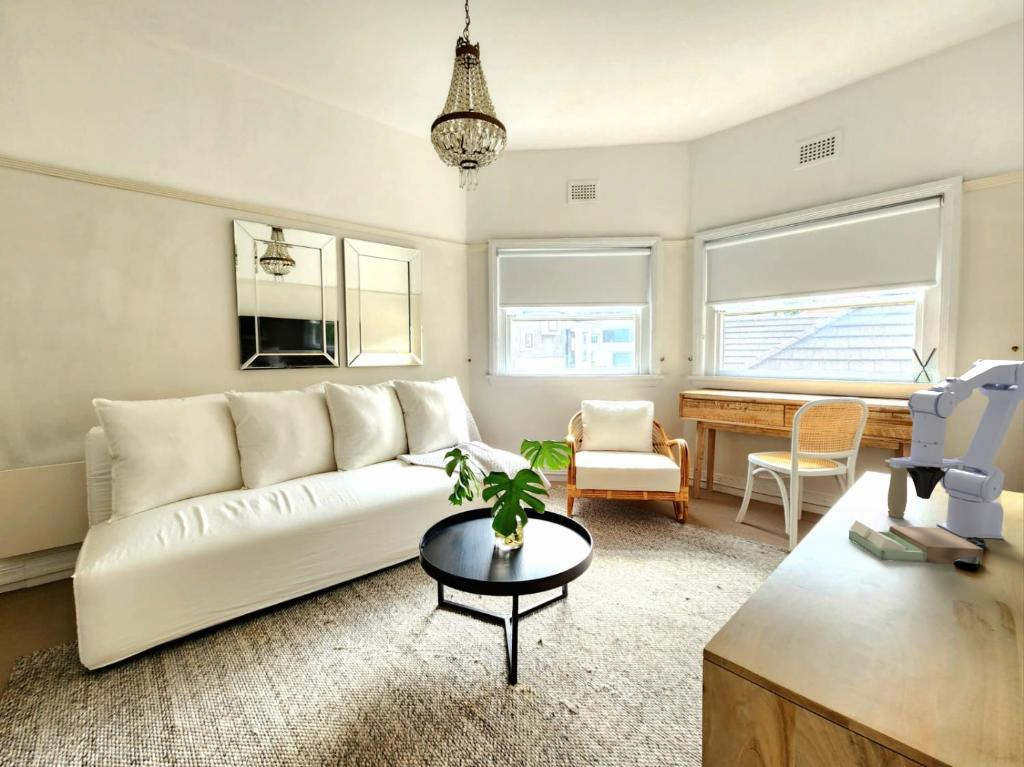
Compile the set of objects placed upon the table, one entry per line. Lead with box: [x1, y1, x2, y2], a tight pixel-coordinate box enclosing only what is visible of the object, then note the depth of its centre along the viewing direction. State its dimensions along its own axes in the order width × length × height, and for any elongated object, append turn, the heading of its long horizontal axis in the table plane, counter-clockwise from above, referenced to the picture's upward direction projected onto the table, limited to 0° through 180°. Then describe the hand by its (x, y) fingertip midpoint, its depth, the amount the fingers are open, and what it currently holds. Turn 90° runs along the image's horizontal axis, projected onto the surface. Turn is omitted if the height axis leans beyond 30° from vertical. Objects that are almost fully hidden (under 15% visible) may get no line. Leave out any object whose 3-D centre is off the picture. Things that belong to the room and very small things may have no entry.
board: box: [889, 525, 984, 566], centre depth 102 cm, size 11×11×4 cm
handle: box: [883, 459, 909, 519], centre depth 122 cm, size 5×6×15 cm
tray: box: [848, 529, 927, 563], centre depth 103 cm, size 9×11×2 cm
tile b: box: [867, 529, 906, 550], centre depth 101 cm, size 4×4×2 cm
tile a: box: [849, 520, 873, 539], centre depth 106 cm, size 4×4×2 cm
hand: (923, 497), depth 107 cm, fingers closed
